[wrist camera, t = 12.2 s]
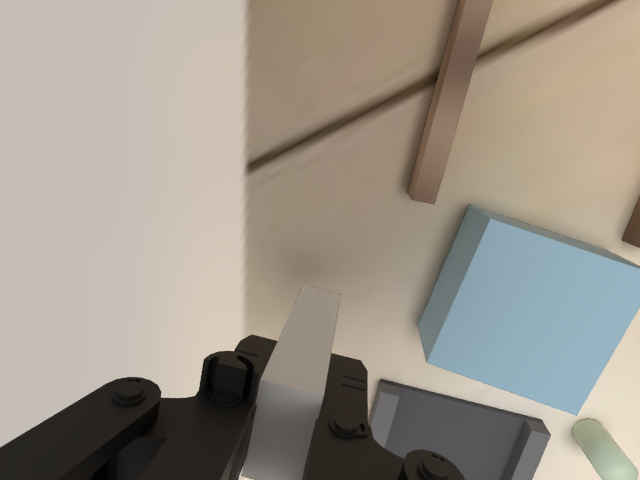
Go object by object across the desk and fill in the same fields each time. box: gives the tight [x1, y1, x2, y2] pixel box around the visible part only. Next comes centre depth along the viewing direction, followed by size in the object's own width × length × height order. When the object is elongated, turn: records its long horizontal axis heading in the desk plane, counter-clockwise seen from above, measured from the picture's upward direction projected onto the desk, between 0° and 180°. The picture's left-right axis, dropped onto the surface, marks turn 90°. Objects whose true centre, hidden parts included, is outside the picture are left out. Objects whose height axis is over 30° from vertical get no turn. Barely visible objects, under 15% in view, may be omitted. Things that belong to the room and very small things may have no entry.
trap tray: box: [368, 379, 551, 480], centre depth 24 cm, size 7×9×1 cm
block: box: [418, 204, 640, 416], centre depth 20 cm, size 7×7×4 cm
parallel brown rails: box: [407, 0, 640, 248], centre depth 18 cm, size 13×12×2 cm
